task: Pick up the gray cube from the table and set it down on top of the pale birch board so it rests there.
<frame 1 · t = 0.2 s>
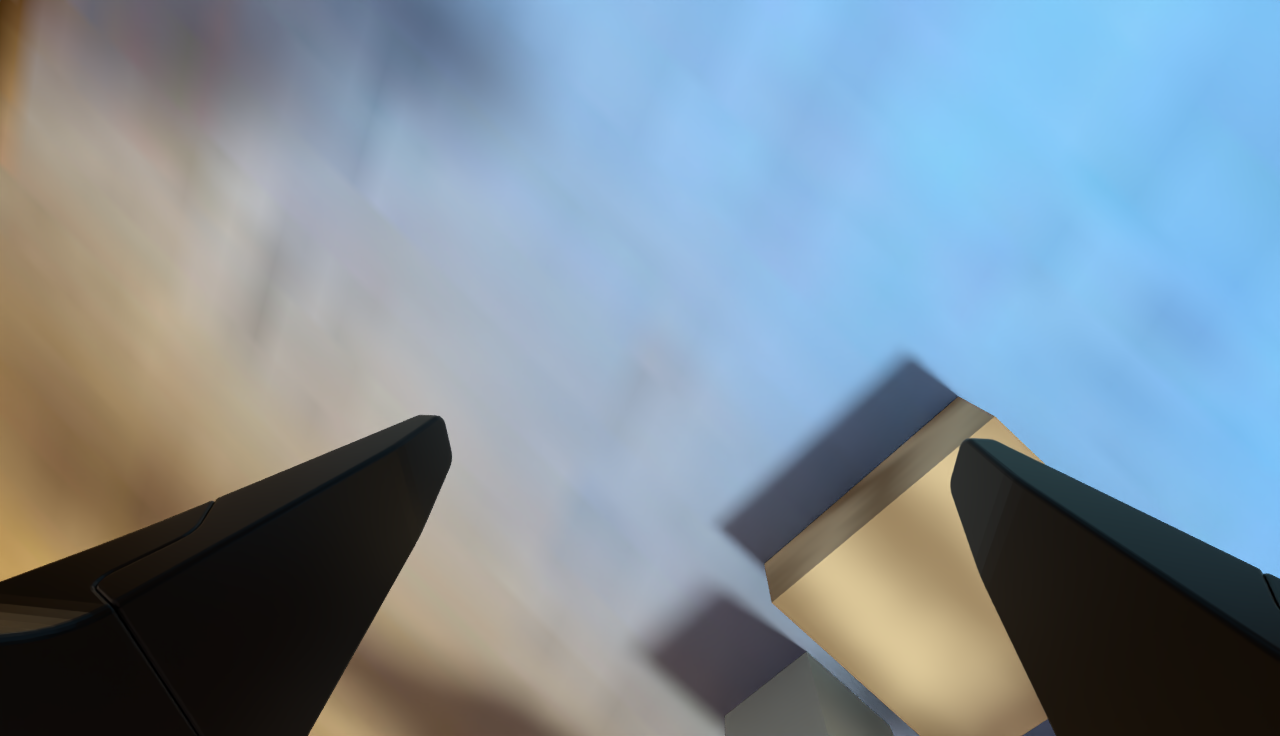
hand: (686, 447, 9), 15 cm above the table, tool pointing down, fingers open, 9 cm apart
gray cube: (805, 719, 28), on the table
birch board: (945, 568, 25), on the table
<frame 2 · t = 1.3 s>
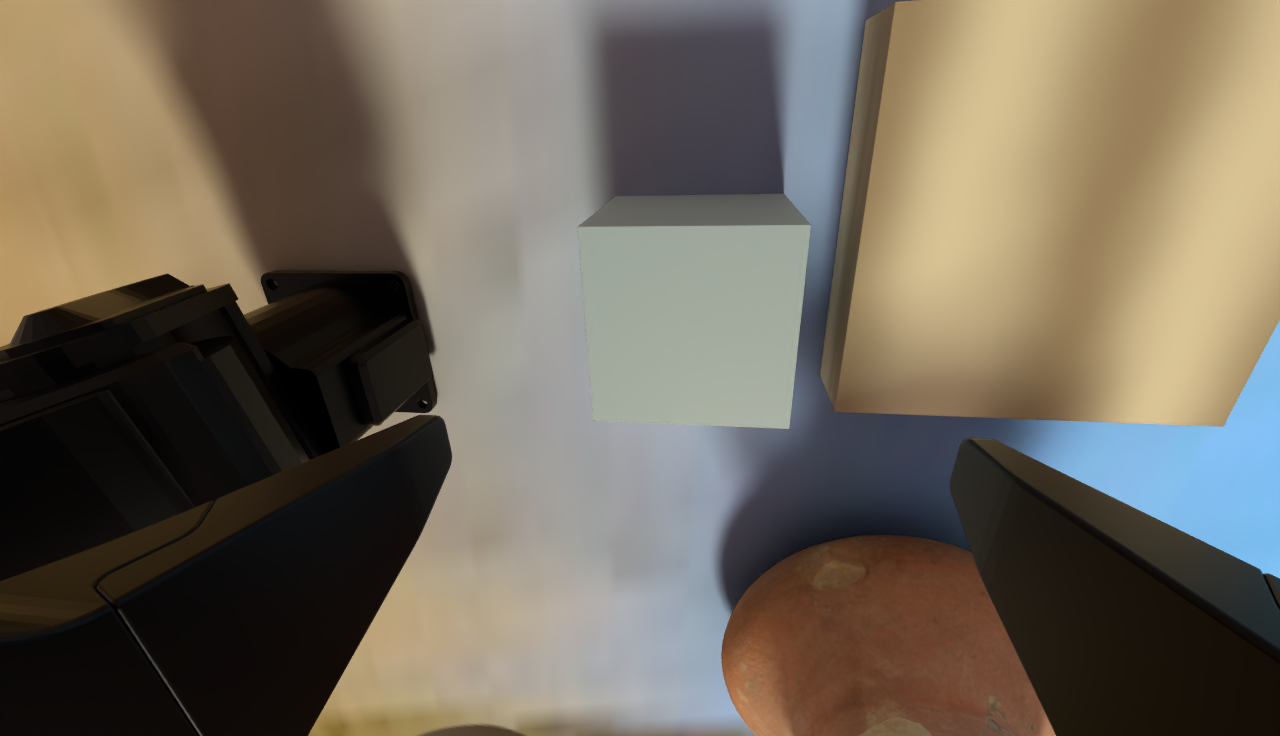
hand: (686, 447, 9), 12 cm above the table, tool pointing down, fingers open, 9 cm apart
gray cube: (696, 275, 20), on the table
birch board: (1024, 220, 18), on the table
ceramic jug: (868, 618, 27), on the table
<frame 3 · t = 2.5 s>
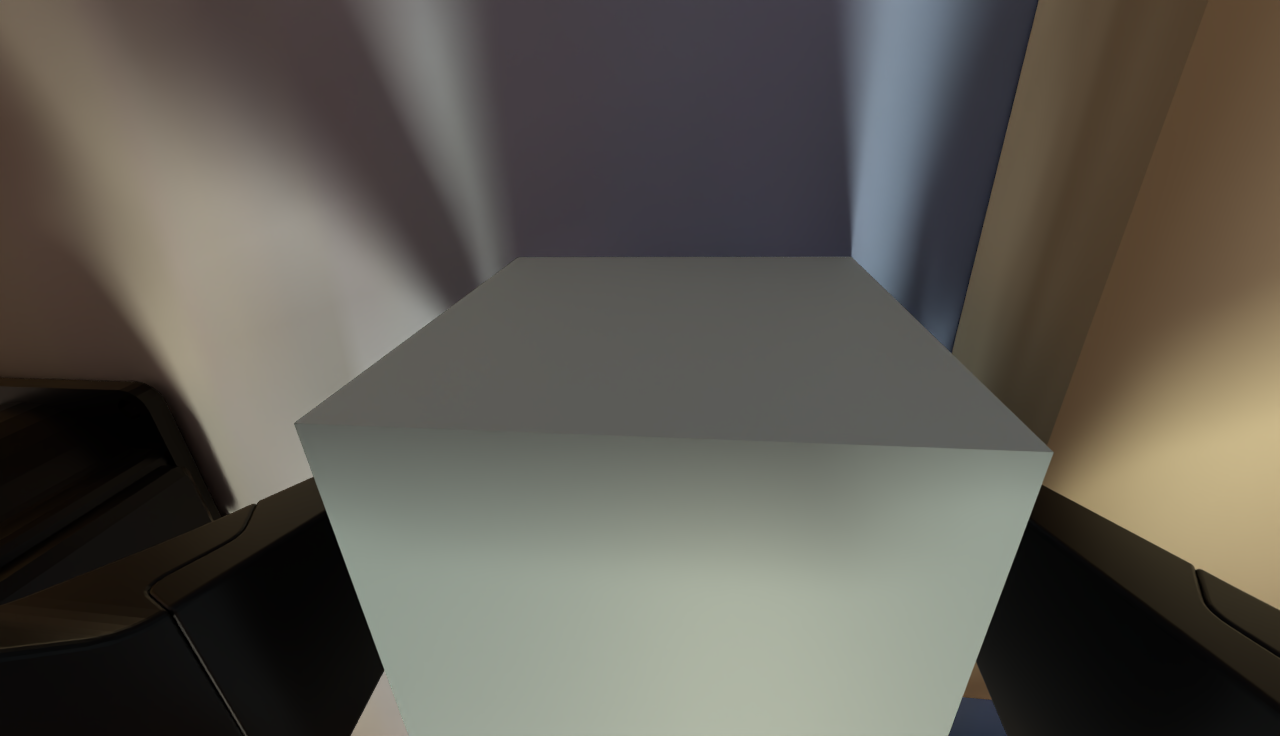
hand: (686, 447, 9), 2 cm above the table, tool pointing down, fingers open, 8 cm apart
gray cube: (678, 400, 11), on the table
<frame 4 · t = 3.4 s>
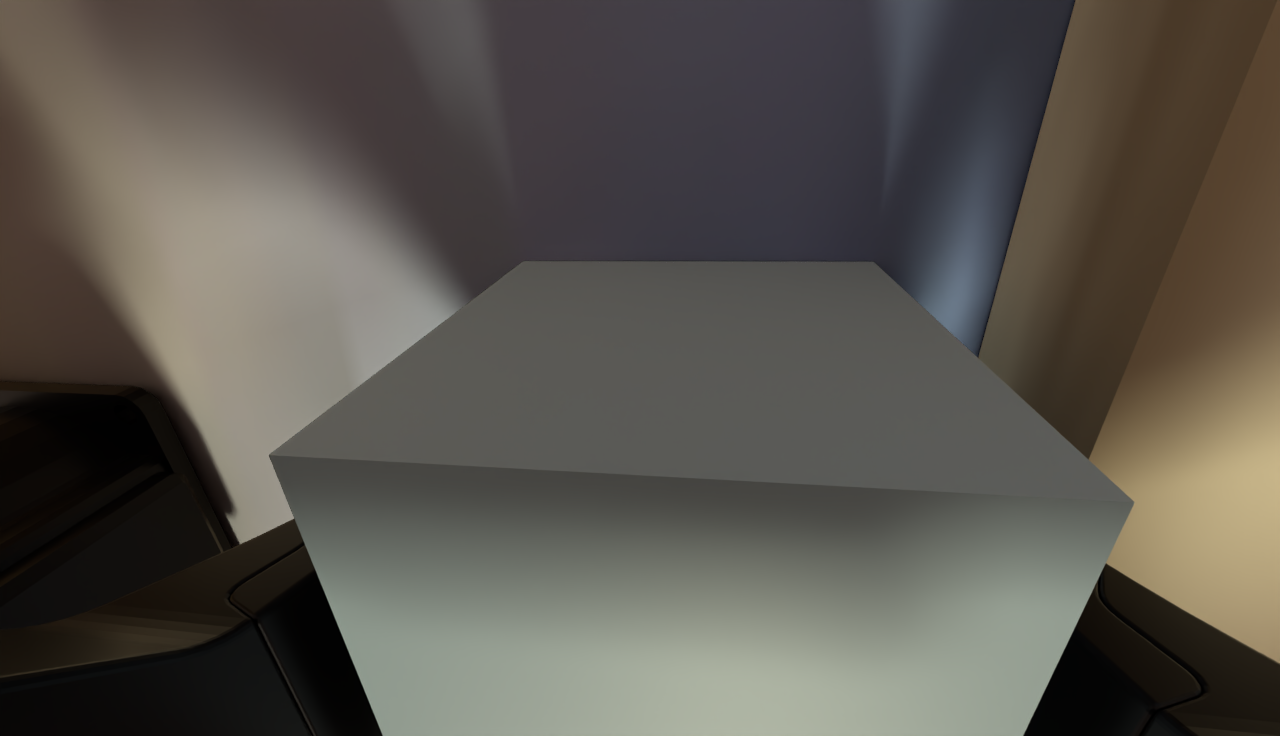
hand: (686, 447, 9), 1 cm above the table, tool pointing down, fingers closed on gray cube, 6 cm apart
gray cube: (689, 412, 10), on the table, touching gripper
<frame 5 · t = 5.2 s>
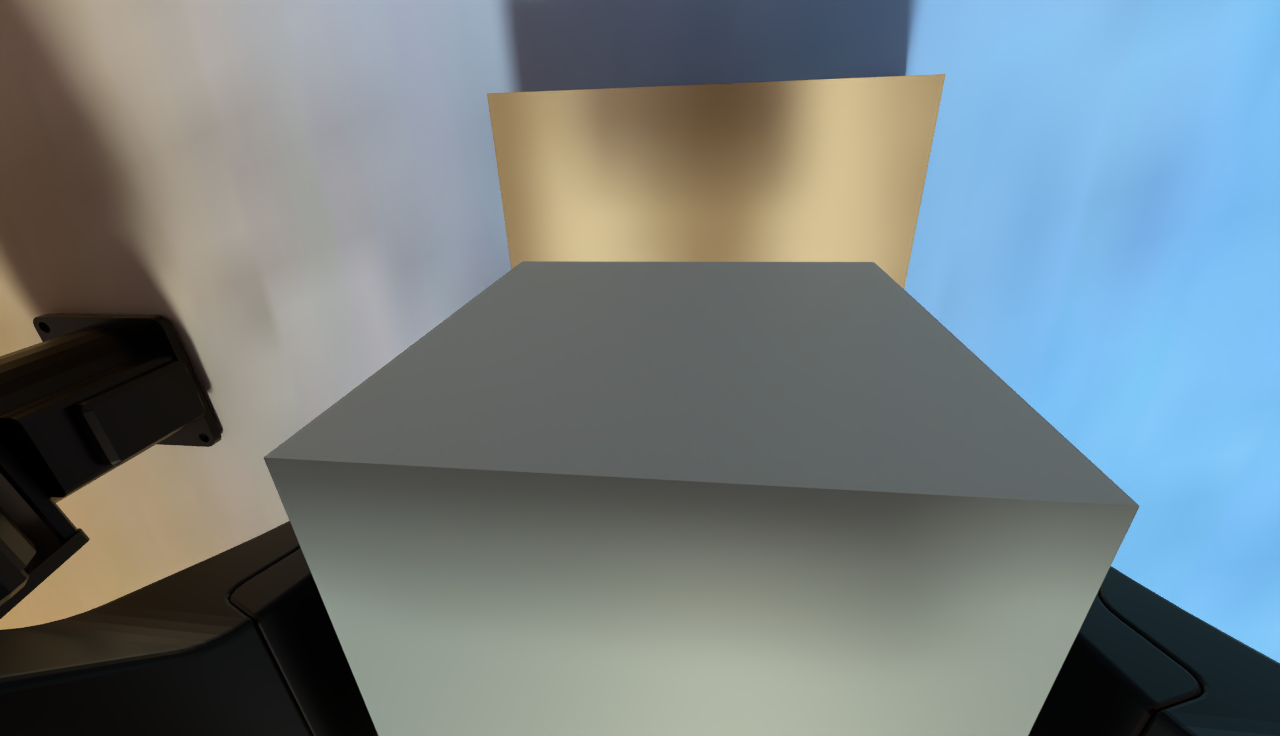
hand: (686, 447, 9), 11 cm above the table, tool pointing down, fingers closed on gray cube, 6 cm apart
gray cube: (688, 412, 10), point 10 cm above the table, touching gripper
birch board: (701, 275, 19), on the table
when the fingers open (6 cm above the table, at t = 6.9 s): gray cube drops 2 cm, resting on birch board.
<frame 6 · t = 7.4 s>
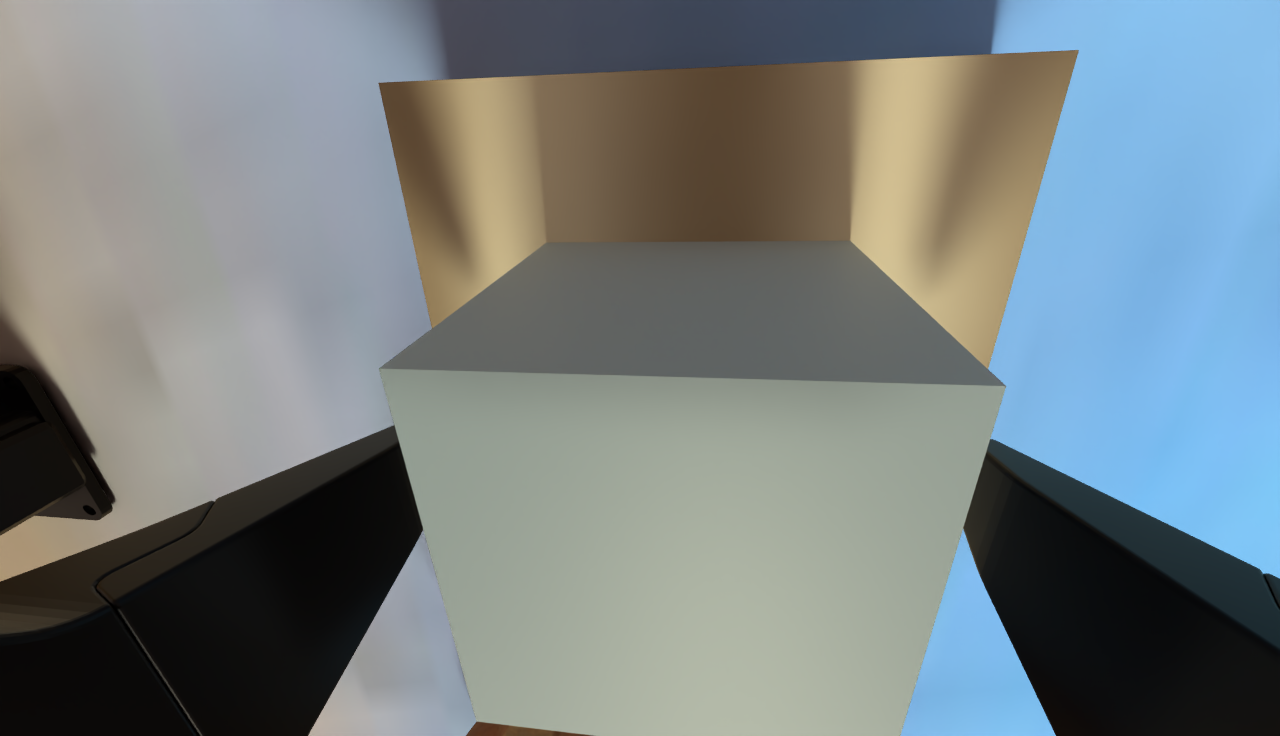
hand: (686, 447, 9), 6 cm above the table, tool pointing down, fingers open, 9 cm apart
gray cube: (691, 376, 12), point 3 cm above the table, touching birch board
birch board: (698, 327, 14), on the table
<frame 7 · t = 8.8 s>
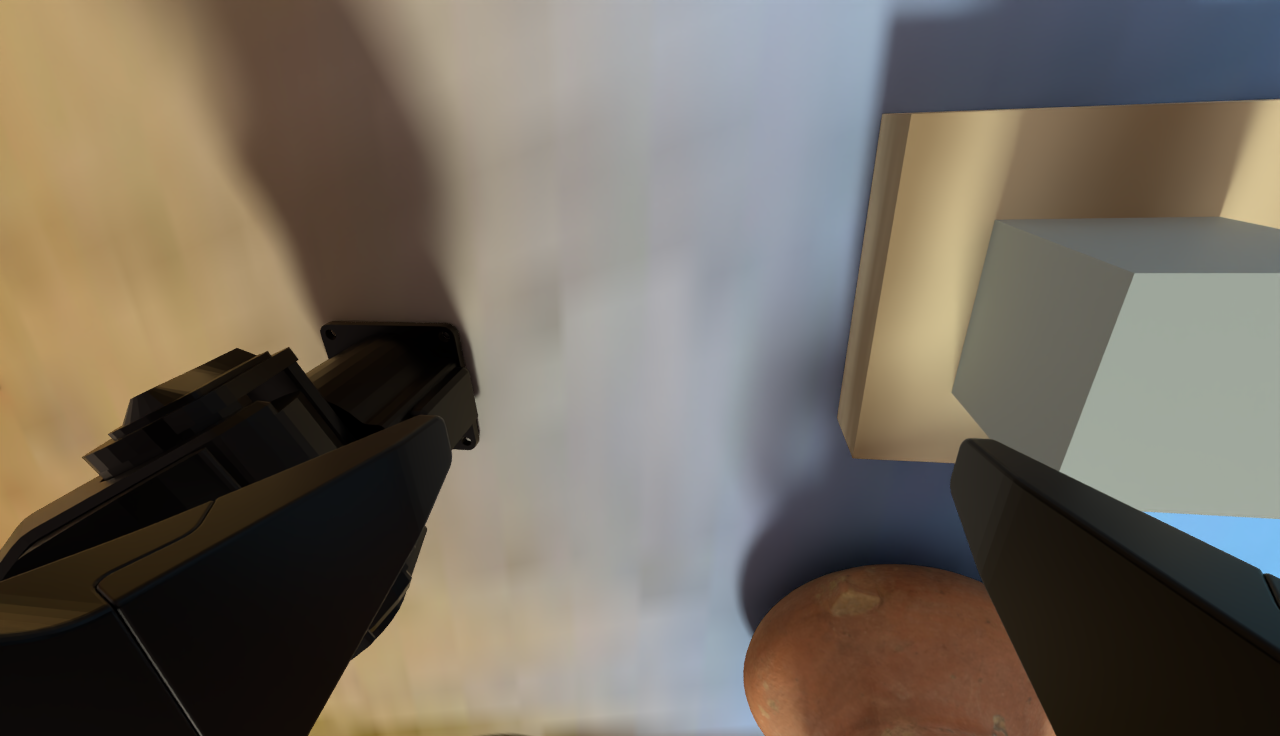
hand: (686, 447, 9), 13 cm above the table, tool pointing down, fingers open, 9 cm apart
gray cube: (1071, 313, 17), point 3 cm above the table, touching birch board
birch board: (1025, 286, 19), on the table
ceramic jug: (879, 637, 29), on the table
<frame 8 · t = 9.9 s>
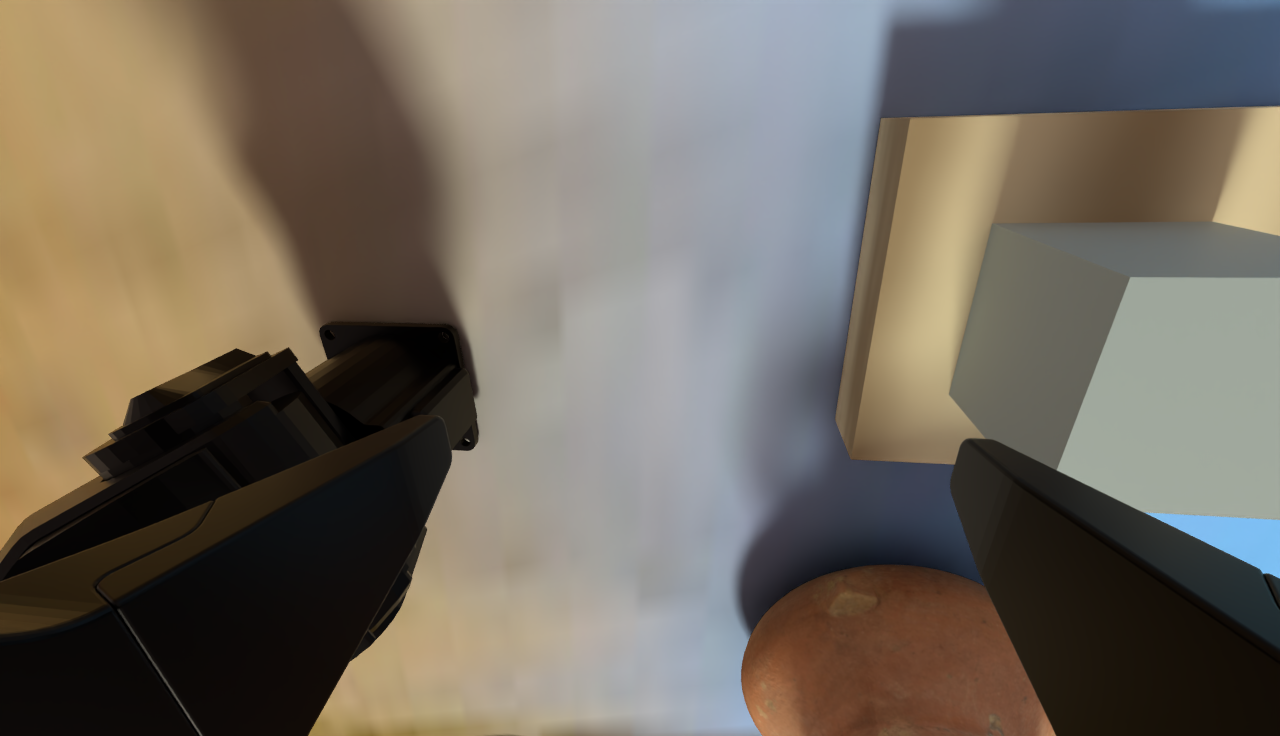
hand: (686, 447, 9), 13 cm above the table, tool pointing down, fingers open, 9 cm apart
gray cube: (1067, 316, 17), point 3 cm above the table, touching birch board
birch board: (1021, 289, 20), on the table
ceramic jug: (875, 637, 29), on the table
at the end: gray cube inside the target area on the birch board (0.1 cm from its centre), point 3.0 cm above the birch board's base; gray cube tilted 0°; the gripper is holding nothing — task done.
